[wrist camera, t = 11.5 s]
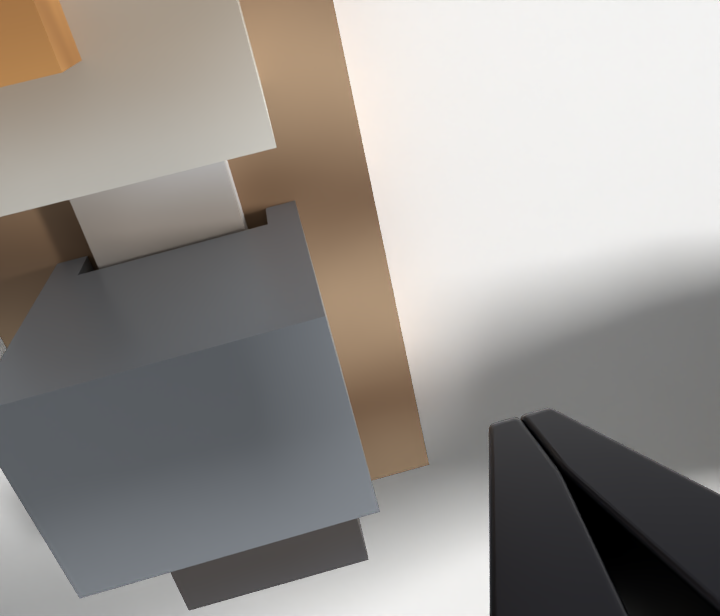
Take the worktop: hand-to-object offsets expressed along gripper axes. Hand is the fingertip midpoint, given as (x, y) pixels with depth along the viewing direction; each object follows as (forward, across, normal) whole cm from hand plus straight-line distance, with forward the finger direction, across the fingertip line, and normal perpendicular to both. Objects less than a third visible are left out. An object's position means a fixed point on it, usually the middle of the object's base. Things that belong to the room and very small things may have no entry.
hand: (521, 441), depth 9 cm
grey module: (+10, +5, +1) cm, 11 cm away
